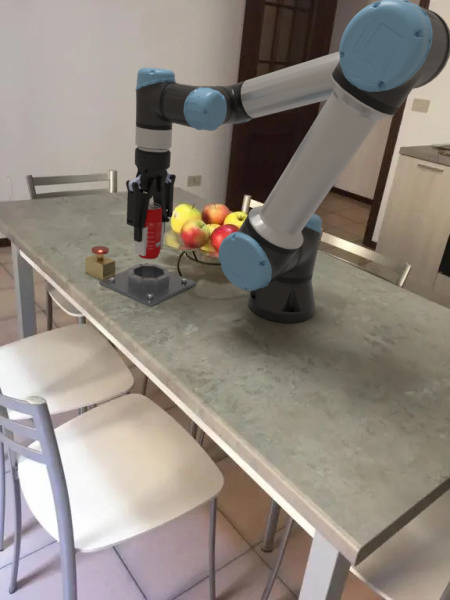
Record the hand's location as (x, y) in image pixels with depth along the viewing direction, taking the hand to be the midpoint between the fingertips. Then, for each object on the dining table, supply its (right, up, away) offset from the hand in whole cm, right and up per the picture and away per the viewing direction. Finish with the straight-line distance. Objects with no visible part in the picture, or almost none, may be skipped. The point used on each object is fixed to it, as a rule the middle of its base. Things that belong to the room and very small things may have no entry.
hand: (149, 250), depth 120 cm
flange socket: (-1, -8, +4) cm, 9 cm away
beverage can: (0, -1, +1) cm, 1 cm away
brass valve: (-13, -5, +6) cm, 15 cm away
